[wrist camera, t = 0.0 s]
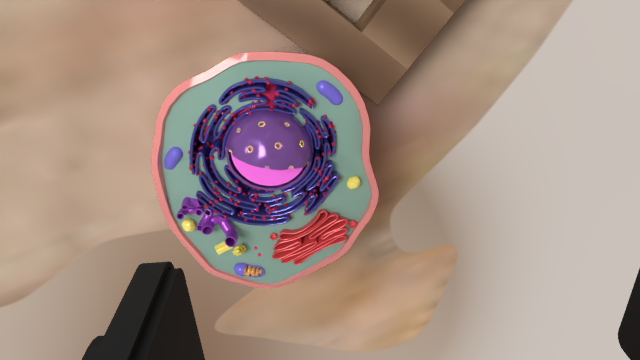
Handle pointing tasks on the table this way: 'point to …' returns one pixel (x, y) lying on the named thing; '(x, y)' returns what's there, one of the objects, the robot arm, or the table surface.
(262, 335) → the table surface
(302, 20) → the brown block with hole
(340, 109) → the cell model
